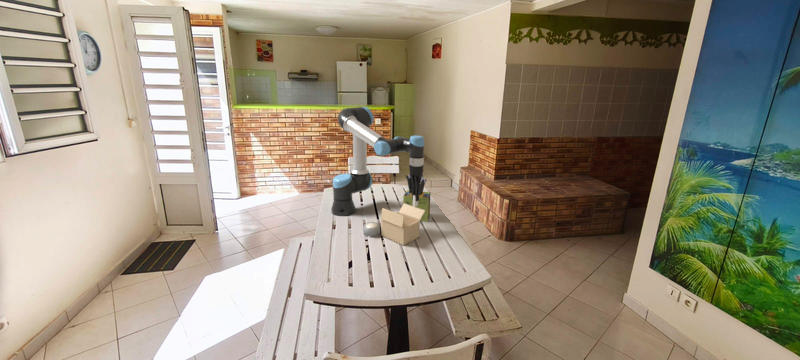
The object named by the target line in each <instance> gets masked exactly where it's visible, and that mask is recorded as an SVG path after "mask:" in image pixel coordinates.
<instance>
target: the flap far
mask: <svg viewBox="0 0 800 360" xmlns="http://www.w3.org/2000/svg"><path fill="white" fill-rule="evenodd" d="M398 212H399V213H401V214H404V215H407V216H410V217H413V218H415V219H418V220H420V219H421V218H422V216H423V214H424V212H425V210H422V209H419V208H416V207H413V206H410V205H407V204H405V203H404V204H402V205H401V208H400V209H399V211H398Z"/></svg>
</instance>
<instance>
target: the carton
mask: <svg viewBox="0 0 800 360" xmlns="http://www.w3.org/2000/svg"><path fill="white" fill-rule="evenodd" d="M396 213H398V214H400V215H403V216H404V221H403V227H400V226H397V225H395V224H392V223H390V222H387V221H385V220H382V219H381V218H380V219H381V220H380V221H381V224H380V235H381V237H383V238H385V239H388V240H390V241H392V242H394V243H396V244H399V245H401V246H406V245H408V244H410V243H411V242H413V241H416V240H417V239H419V238H420V227H421V226H420V225H421V223H420V222H421V221H420V220H417V219H415V218H412V217H409V216H407V215H404V214H402V213H399V211H398V212H396Z"/></svg>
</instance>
